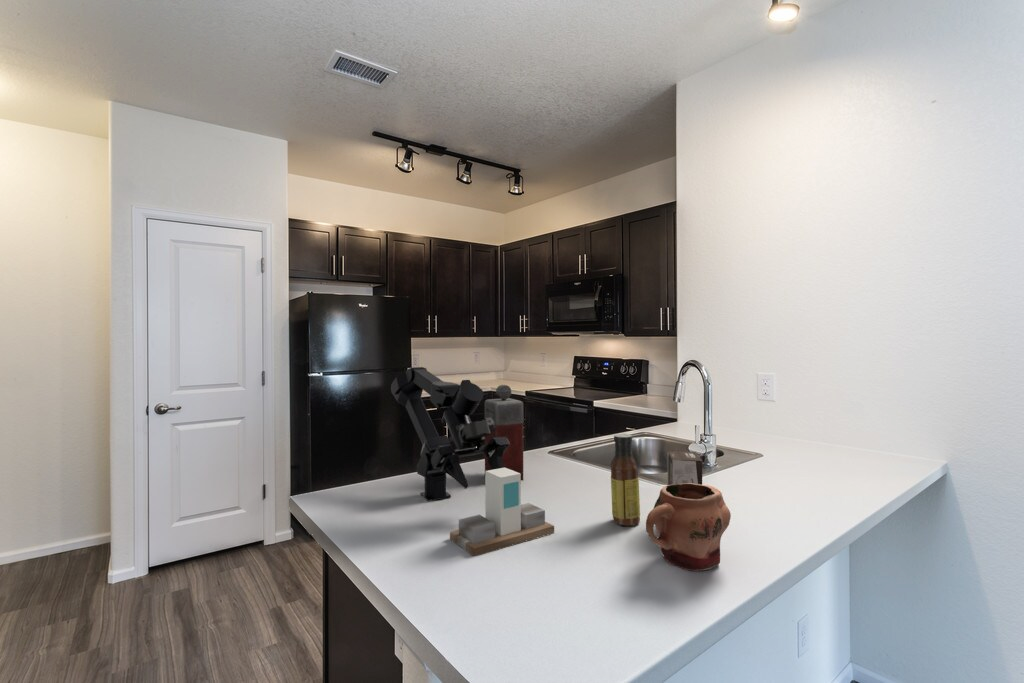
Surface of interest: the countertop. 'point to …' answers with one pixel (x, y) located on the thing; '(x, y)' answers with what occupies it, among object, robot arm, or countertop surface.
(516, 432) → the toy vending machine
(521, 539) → the rail board
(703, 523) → the terracotta clay mug
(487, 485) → the block
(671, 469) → the coffee box
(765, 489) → the countertop surface
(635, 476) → the sauce bottle
